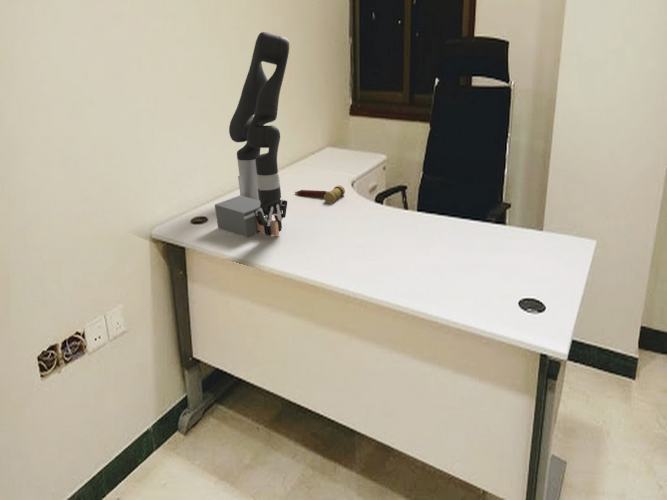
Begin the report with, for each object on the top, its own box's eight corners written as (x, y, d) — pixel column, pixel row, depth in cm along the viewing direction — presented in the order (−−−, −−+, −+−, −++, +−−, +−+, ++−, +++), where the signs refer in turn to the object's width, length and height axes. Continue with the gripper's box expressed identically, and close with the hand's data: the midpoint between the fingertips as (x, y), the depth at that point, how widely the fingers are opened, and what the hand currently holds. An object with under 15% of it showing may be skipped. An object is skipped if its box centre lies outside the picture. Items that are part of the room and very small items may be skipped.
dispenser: (217, 228, 205) (213, 205, 201) (244, 217, 214) (241, 194, 210) (248, 238, 195) (245, 214, 191) (275, 226, 203) (273, 203, 200)
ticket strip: (232, 222, 207) (231, 210, 205) (235, 221, 208) (233, 209, 206) (276, 236, 193) (275, 222, 191) (279, 235, 194) (277, 221, 192)
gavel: (288, 191, 231) (300, 183, 239) (289, 201, 233) (301, 194, 241) (333, 193, 222) (344, 185, 230) (334, 204, 223) (345, 196, 231)
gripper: (276, 178, 195) (280, 224, 202) (245, 189, 185) (250, 237, 192) (291, 181, 190) (295, 228, 197) (260, 193, 181) (266, 242, 188)
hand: (273, 232), depth 195 cm, fingers open, 4 cm apart
